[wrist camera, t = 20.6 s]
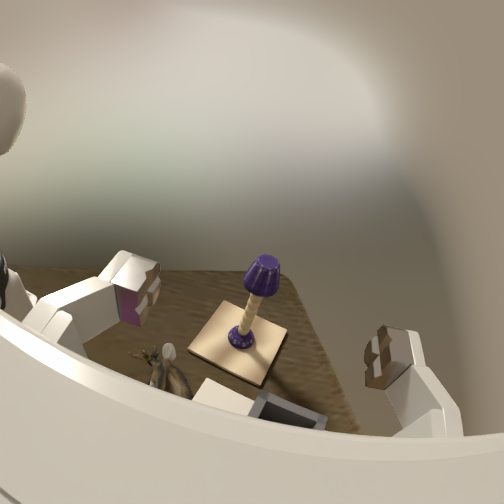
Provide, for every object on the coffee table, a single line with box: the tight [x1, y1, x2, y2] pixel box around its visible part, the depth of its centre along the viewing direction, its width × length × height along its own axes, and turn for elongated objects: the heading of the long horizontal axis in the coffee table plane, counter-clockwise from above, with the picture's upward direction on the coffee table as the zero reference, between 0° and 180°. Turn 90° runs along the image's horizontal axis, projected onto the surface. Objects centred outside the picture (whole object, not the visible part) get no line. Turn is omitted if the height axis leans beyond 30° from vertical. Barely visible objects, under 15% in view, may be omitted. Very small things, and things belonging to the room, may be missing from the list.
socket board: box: [192, 378, 328, 431], centre depth 29 cm, size 20×18×6 cm
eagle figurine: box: [128, 343, 192, 400], centre depth 36 cm, size 8×7×9 cm
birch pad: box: [188, 300, 287, 387], centre depth 47 cm, size 12×12×1 cm
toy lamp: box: [228, 254, 280, 349], centre depth 41 cm, size 5×5×17 cm
